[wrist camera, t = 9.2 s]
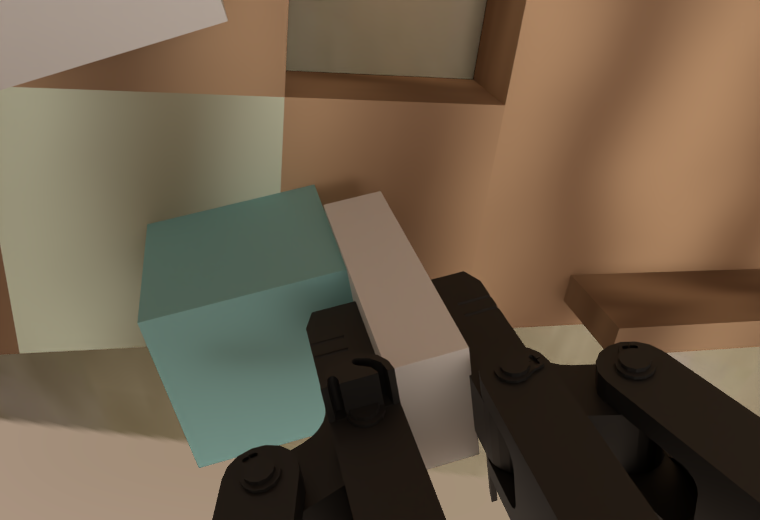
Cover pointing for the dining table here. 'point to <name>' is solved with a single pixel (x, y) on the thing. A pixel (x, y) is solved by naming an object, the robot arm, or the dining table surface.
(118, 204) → the tray
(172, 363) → the teal block
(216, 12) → the grey block
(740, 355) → the dining table surface
